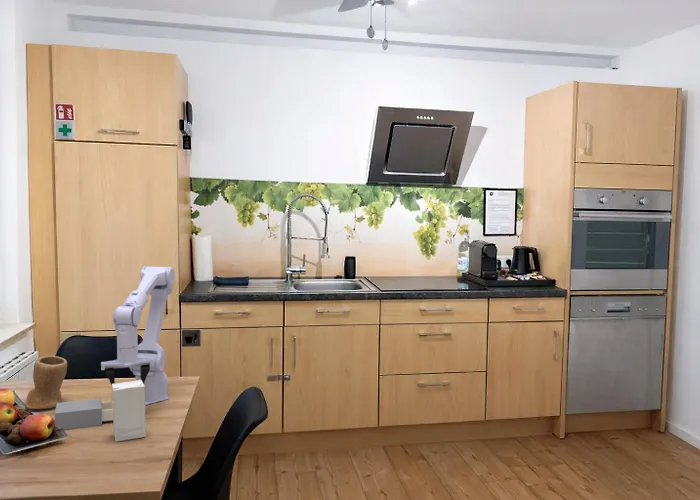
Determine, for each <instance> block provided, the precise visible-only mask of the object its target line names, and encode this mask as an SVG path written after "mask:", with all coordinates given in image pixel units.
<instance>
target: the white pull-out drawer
mask: <svg viewBox="0 0 700 500" xmlns="http://www.w3.org/2000/svg"><path fill="white" fill-rule="evenodd" d="M101 404H102V422H109V421H113V403H112V401H105V402H104V401H101Z"/></svg>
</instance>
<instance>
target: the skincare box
mask: <svg viewBox="0 0 700 500" xmlns="http://www.w3.org/2000/svg"><path fill="white" fill-rule="evenodd" d="M111 399H112V401H111V402H112V403H113V420H112V422H113V424H112V425H113V436H114V440H115V442H123V441H128V440H134V439H139V438H146V437H147V427H146V426H147V425H146V423H147V422H146V419H147V418H146V405H145V386H144V384H143V382H142V380H136V379H135V380H132V381H123V382H117V383H115V384H112V386H111Z"/></svg>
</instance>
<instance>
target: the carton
mask: <svg viewBox="0 0 700 500" xmlns="http://www.w3.org/2000/svg"><path fill="white" fill-rule="evenodd" d="M101 403H102V398H92V399H83V400H72V401H63V402H62V401H61V402H60V403H57V405H56V407H55V411H54V420H55V421H54V423H55V424H54V426H55V427H60V428H62V429H63V430H62V431H64V430H65V431H66V430H73V429H81V428H89V427H98V426H99V427H100V426H102V425H103V424H102V423H103V421H102V404H101Z"/></svg>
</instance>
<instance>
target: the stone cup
mask: <svg viewBox="0 0 700 500" xmlns="http://www.w3.org/2000/svg"><path fill="white" fill-rule="evenodd" d="M67 369H68V361H67V359H65V358H63V357H60V356H57V355H43V356H40V357H38V358H37V359H36V360H35V362H34V364H33V371H32V379H33V383H34V388H32V389H30V390H29V391H28V393H27V396H26V400H25V407H26V408H27V409H29V410H30V409H31V410H45V409H51V408H56V405H57V403H61V402H62V391H61V387H62V384H63V382H64V379H65V378H66V375H67V371H68V370H67Z"/></svg>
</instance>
